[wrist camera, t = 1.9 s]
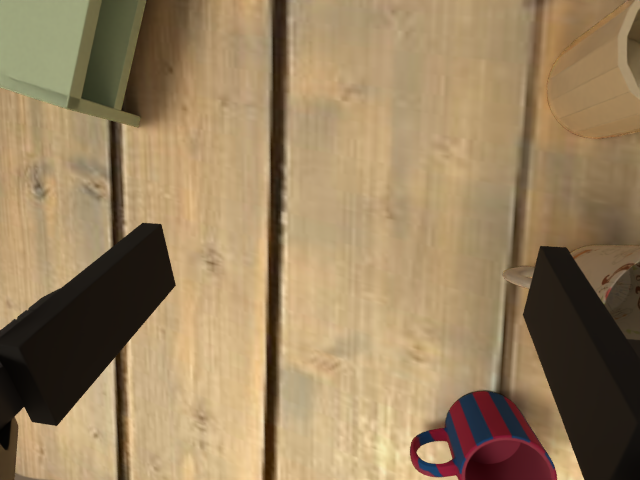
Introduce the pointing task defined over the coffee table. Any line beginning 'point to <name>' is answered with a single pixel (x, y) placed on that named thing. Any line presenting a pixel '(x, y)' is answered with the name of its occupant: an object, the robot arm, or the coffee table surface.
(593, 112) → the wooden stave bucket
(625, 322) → the mug
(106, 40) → the shelf
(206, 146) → the coffee table surface
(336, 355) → the coffee table surface
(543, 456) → the cup
